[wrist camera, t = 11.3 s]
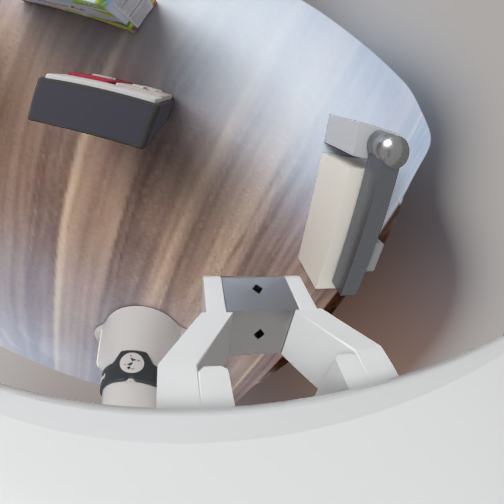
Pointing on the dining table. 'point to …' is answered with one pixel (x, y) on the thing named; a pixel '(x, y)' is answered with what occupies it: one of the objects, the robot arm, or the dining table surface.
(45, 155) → the dining table surface
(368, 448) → the robot arm
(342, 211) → the door slab
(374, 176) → the swing bar
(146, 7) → the snack box
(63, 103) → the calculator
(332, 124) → the post
